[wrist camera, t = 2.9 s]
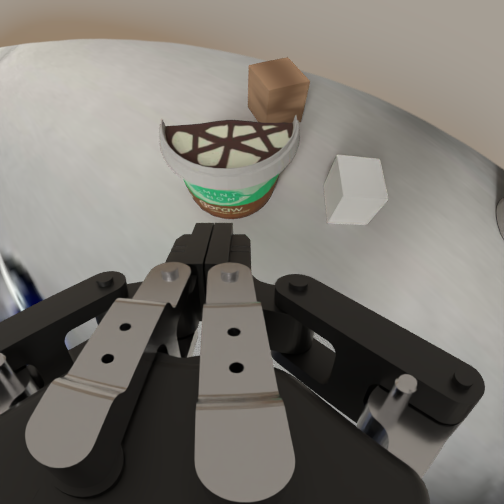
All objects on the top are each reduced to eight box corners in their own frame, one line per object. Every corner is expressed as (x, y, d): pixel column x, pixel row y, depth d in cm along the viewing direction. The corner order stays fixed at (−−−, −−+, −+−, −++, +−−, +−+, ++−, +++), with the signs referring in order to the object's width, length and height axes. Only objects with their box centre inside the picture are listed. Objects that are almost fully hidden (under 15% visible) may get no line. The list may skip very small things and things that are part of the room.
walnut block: (282, 97, 37) (287, 57, 31) (300, 122, 36) (309, 81, 29) (247, 106, 37) (248, 65, 30) (265, 132, 35) (268, 90, 29)
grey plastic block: (360, 188, 33) (379, 159, 27) (366, 224, 32) (388, 199, 26) (323, 186, 33) (336, 154, 27) (327, 223, 32) (343, 195, 26)
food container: (171, 231, 31) (143, 180, 21) (175, 179, 33) (154, 119, 23) (292, 228, 31) (312, 176, 22) (288, 177, 33) (302, 115, 24)
